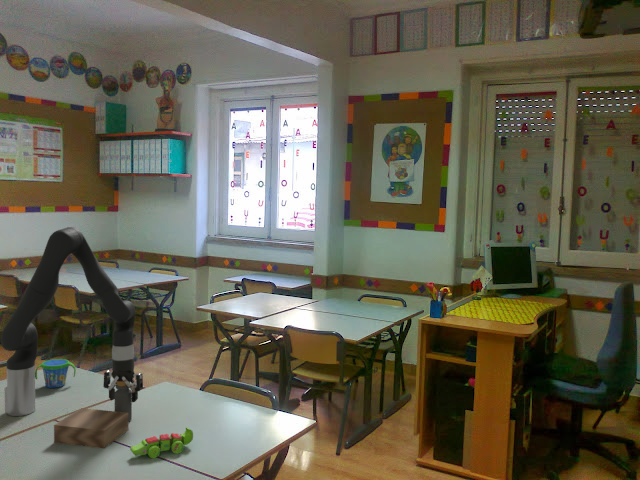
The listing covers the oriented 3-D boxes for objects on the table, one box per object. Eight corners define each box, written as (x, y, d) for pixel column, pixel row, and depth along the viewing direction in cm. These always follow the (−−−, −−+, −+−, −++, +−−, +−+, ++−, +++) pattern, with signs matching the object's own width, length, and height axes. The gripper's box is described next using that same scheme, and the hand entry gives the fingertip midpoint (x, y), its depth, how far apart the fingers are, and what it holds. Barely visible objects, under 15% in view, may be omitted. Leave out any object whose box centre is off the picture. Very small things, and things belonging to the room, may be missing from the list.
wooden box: (54, 442, 180) (53, 424, 180) (81, 424, 195) (81, 408, 195) (104, 448, 177) (104, 430, 177) (128, 429, 192) (128, 412, 192)
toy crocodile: (132, 463, 169) (132, 444, 168) (128, 454, 174) (128, 435, 174) (195, 450, 178) (196, 432, 178) (189, 442, 184) (190, 424, 184)
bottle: (126, 424, 196) (126, 383, 195) (111, 422, 198) (111, 381, 196) (134, 417, 202) (134, 378, 201) (120, 416, 203) (120, 376, 202)
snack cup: (78, 380, 240) (78, 358, 239) (72, 389, 230) (72, 365, 229) (39, 382, 237) (39, 359, 236) (31, 390, 227) (31, 366, 226)
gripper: (99, 358, 196) (99, 402, 197) (136, 361, 193) (136, 406, 194) (110, 352, 203) (111, 395, 204) (146, 355, 200) (146, 398, 202)
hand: (123, 400), depth 199 cm, fingers open, 8 cm apart
